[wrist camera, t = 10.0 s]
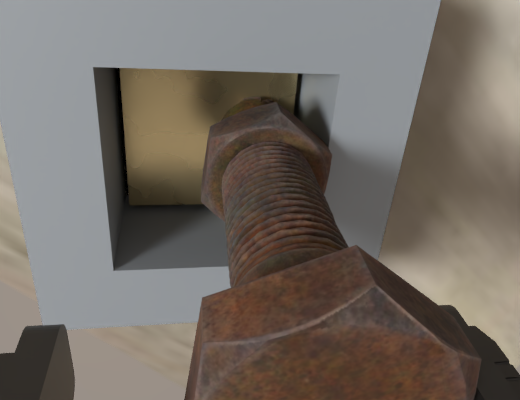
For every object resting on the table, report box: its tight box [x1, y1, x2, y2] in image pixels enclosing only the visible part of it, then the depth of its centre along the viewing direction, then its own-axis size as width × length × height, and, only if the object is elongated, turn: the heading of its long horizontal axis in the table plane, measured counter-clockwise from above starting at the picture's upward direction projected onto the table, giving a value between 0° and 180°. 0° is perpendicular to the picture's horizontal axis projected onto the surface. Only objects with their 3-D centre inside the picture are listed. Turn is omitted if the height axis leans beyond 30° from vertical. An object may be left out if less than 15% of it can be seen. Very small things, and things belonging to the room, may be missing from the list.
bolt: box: [184, 97, 482, 400], centre depth 15 cm, size 6×5×15 cm
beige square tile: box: [120, 68, 298, 205], centre depth 22 cm, size 7×7×2 cm
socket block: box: [0, 0, 441, 330], centre depth 20 cm, size 14×14×6 cm
